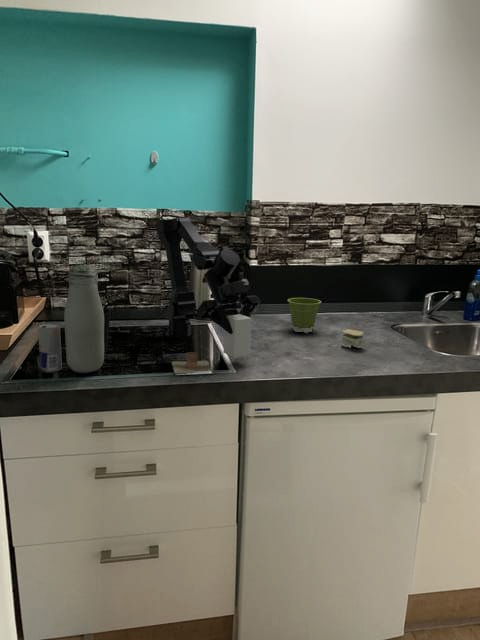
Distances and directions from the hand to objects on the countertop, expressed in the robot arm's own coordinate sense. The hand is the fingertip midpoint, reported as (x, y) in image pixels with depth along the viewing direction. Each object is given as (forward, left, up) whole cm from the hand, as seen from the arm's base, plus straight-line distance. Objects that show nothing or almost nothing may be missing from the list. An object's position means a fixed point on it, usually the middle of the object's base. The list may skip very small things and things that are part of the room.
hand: (240, 332), depth 144 cm
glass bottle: (-34, -23, -10) cm, 42 cm away
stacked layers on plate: (+26, +33, -10) cm, 43 cm away
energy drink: (-43, -26, -10) cm, 52 cm away
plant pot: (+6, +46, -10) cm, 47 cm away
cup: (-43, -6, -10) cm, 45 cm away
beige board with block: (-10, -9, -10) cm, 17 cm away
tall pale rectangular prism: (-1, +1, -7) cm, 7 cm away
